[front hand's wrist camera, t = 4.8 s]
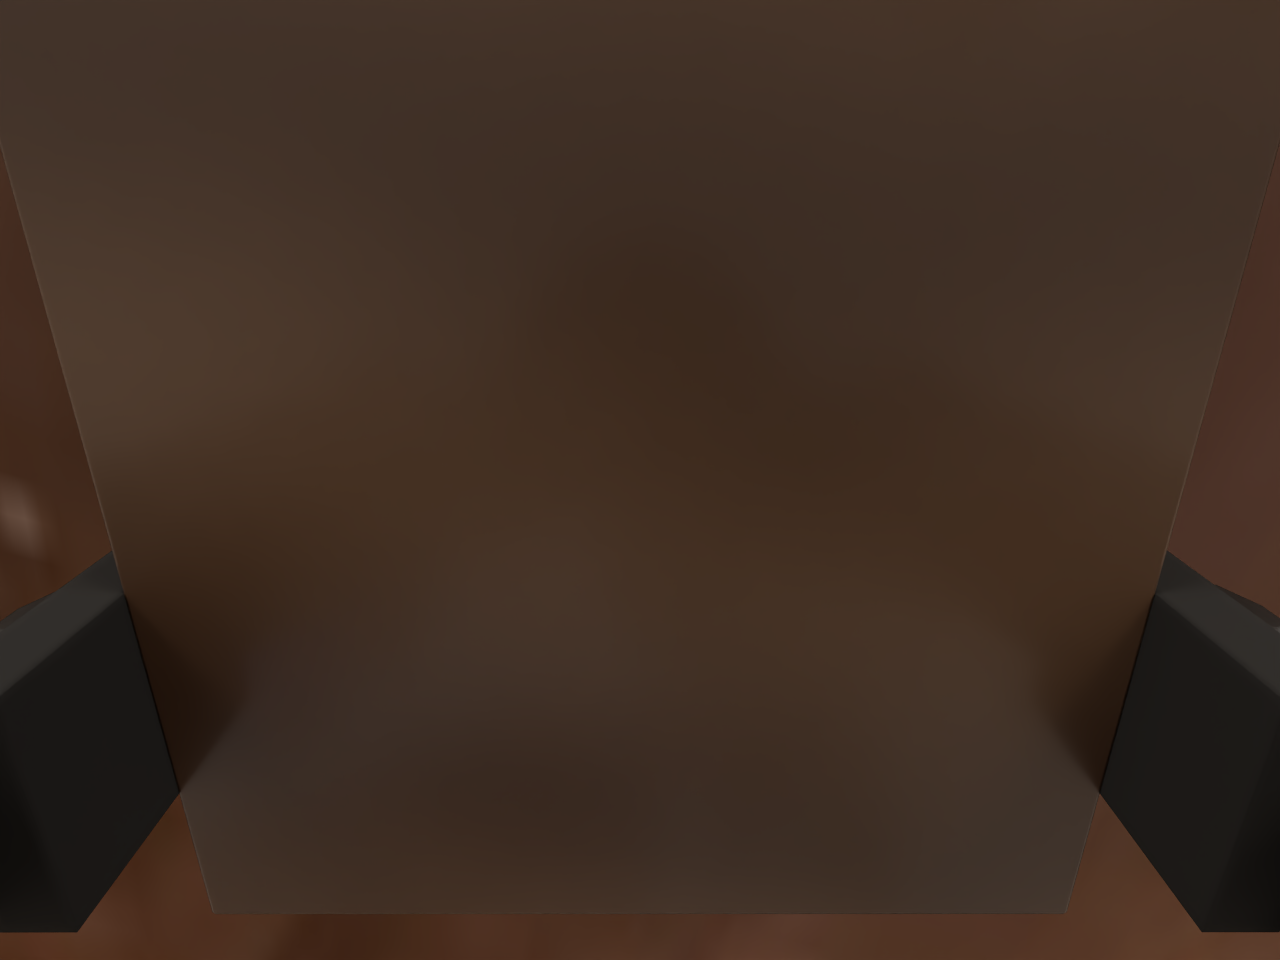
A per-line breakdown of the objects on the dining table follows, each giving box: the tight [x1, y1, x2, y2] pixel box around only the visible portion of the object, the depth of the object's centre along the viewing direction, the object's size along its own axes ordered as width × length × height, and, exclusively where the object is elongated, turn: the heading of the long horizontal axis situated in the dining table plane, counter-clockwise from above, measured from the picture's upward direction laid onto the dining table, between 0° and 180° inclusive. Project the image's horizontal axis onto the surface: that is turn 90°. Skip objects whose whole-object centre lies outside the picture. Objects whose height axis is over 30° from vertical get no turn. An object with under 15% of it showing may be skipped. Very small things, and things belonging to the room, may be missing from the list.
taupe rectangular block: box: [0, 0, 1280, 914], centre depth 11 cm, size 18×11×10 cm, turn 0°
